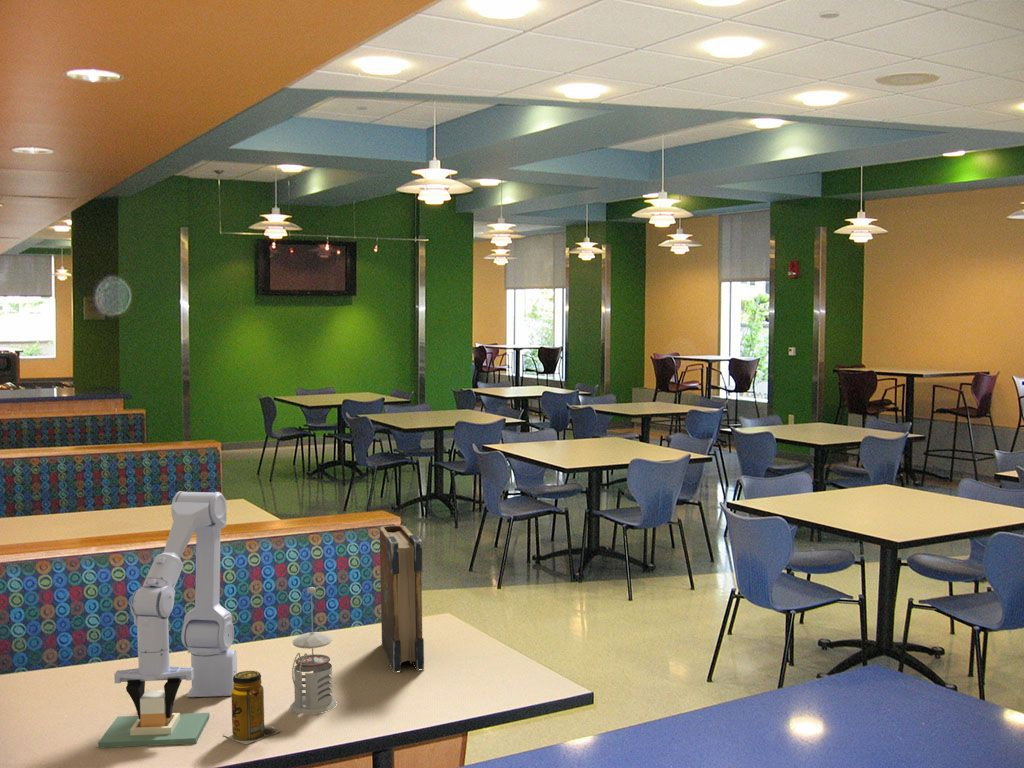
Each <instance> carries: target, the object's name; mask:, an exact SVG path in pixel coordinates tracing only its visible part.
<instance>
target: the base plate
mask: <svg viewBox="0 0 1024 768" xmlns="http://www.w3.org/2000/svg"><path fill="white" fill-rule="evenodd" d="M209 717H211V716H210V712H193V713H180V712H172V715H171V717H170V721H169V722H168V724H167V726H162V727H141V719H139V717H138V715H123V716H121V715H119V716H116V718H115V720H113V721H112V723H111V724H110V726H109V727H108V729H107V730H106V731H105V732H104V734H103V735H102V737H101V738H100V739H99V741H98V742H97V748H98V749H102V748H120V747H121V748H122V747H123V746H126V747H143V746H144V747H146V746H147V745H148V746H164V745H165V746H167V745H185V744H186V745H189V744H197V743H198V741H199V739H200V737H201V735H202V733H203V731H204V729H205V727H206V725H207V724H208V721H209V719H210V718H209ZM148 746H147V747H148ZM123 748H124V747H123Z"/></svg>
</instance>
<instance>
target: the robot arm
mask: <svg viewBox="0 0 1024 768" xmlns="http://www.w3.org/2000/svg"><path fill="white" fill-rule="evenodd" d="M170 509H171V510H170V511H171V518H172V521H173V522H172V525H171V527H170V531H169V534H168V536H167V540H166V542H165V546H164V550H163V552H162V553H159V554H157V555H156V556H155V557H154V560H153V562H152V564H151V565H150V568H149V571H148V573H147V575H146V577H145V580H144V582H143V584H142V586H141V587H139V588H138V589H136V590H135V591H134V592H133V594H132V597H131V600H130V601H131V602H130V605H129V609H130V612H131V615H132V617H133V624H134V626H135V627H136V628H137V634H136V635H137V659H138V661H137V662H138V667H136V668H129V669H121V670H118V669H117V670H116V672H114V677H113V678H114V684H121V683H125V682H126V683H127V684H126V686H125V689H126V692H127V694H128V695H129V697H130V698H131V700H132V702H133V704H134V707H135V709H136V713H137V716H138V717H139V719H140V698H141V697H142V695H143V694H144V693H145V691H146V687H145V686H146V682H154V681H156V682H157V681H166V682H165V683H164V685H163V690H164V691H165V698H166V718H170V717H171V715H172V713H173V709H174V703H175V700H176V696H177V694H178V690H179V688H180V686H181V683H182V681H183V680H185V681H191V688H189V691H188V692H187V694H186V698H204V697H207V698H208V697H226V696H227V697H228V696H229V697H231V691H232V689H233V676H234V675H235V674H237V673H238V658H237V657H238V655H237V651H236V650H235V649H231V648H230V647H231V646H232V645H233V642H234V638H235V629H234V628H235V627H234V624H233V617H232V616H233V614H232V613H231V612H230V611H229V610H227V609H226V608H225V607H223V606H222V605H221V604H220V594H221V593H220V592H221V591H220V589H221V587H220V586H221V585H220V584H221V583H220V582H221V535H222V534H221V531H222V529H225V528H226V526H227V511H228V510H227V499H226V498H225V496H224V495H223V494H222V492H220V491H215V492H212V491H211V492H207V491H206V492H205V491H204V492H202V491H200V492H199V491H185V490H182V491H181V490H179V491H177V492H176V493H175V495H174V496H173V498H172V502H171V507H170ZM194 533H195V535H196V540H195V541H196V545H195V546H196V547H195V589H194V591H195V592H194V593H195V596H194V599H195V602H194V607H193V608H192V609H190V610H189V611H188V612H187V613H185V615H184V620H183V626H182V629H181V633H180V634H181V637H180V638H181V642H182V644H183V645H182V646H183V647H184V648H185V649H187V653H190V661H191V662H190V663H191V664H190V667H186V666H185V667H183V666H171V665H170V641H169V640H170V639H169V638H170V636H169V635H170V634H169V633H170V631H169V616H170V615H171V613H172V611H173V608H174V605H175V595H176V590H175V587H176V585H177V582H178V580H179V578H180V576H181V573H182V570H183V568H184V564H183V561H182V559H181V558H182V556H183V554H184V552H185V550H186V548H187V547H188V545H189V543H190V541H191V539H192V537H193V535H194ZM229 648H230V649H229Z"/></svg>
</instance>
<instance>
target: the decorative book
mask: <svg viewBox="0 0 1024 768" xmlns="http://www.w3.org/2000/svg"><path fill="white" fill-rule="evenodd" d="M379 557H380V558H379V561H380V563H379V566H380V567H379V568H380V572H379V573H380V606H381V607H380V609H381V610H380V611H381V614H380V615H381V617H380V618H381V620H380V621H381V622H380V623H381V624H380V625H381V645H382V647H383V650H384V649H385V650H384V651H386V652H385V653H386V655H387V658H388V664H389V663H390V664H389V666H390V665H391V667H392V669H393V671H394V672H397V671H401V672H402V663H403V662H409V663H410V664H413V663H414V665H415V666H414V665H413V666H414V668H415V667H416V668H415V670H416V669H417V670H419V669H424V670H425V654H424V653H425V646H424V645H425V643H424V641H425V640H424V637H423V604H422V603H423V602H422V601H423V599H422V598H423V597H422V594H423V593H422V592H423V591H422V588H423V587H422V573H423V540H422V539H421V538H420V537H419V536H418V534H413V533H412V532H411V531H410V529H409V528H408V527H407V526H405V525H403V524H402V525H400V524H392V525H382V526H380V527H379ZM412 662H413V663H412ZM391 667H390V668H391ZM392 669H391V670H392ZM417 670H416V671H417ZM393 671H392V672H393Z"/></svg>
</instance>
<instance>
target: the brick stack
mask: <svg viewBox="0 0 1024 768" xmlns="http://www.w3.org/2000/svg"><path fill="white" fill-rule="evenodd" d="M140 719H141V727H162V726H167V724H168V722H169V721H170V718H166V698H165V691H164V689H159V690H158V689H157V690H145V692H144V694H143V695H142V697H141V698H140Z"/></svg>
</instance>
